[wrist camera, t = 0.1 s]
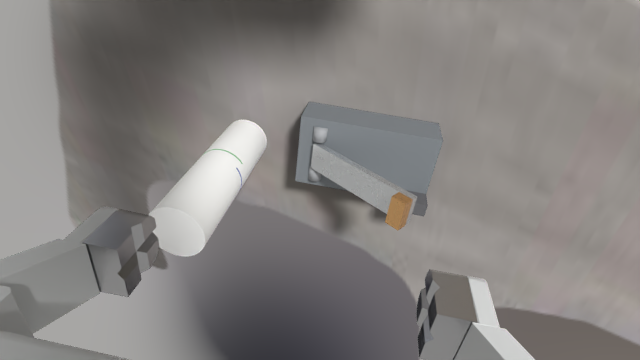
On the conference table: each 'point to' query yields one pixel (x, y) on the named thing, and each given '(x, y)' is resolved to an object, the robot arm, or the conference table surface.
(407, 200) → the lever
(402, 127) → the clamp block
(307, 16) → the conference table surface
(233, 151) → the cylindrical container
